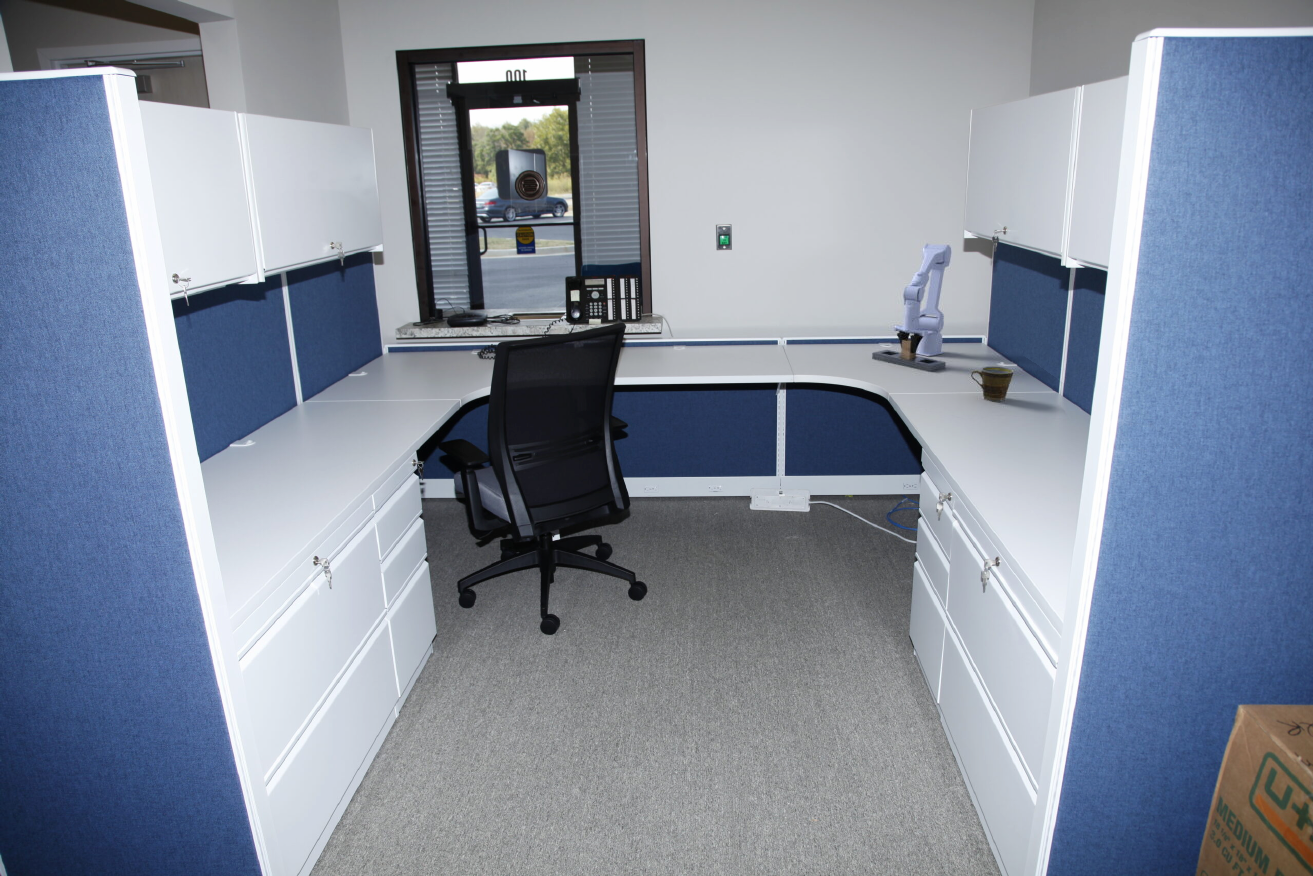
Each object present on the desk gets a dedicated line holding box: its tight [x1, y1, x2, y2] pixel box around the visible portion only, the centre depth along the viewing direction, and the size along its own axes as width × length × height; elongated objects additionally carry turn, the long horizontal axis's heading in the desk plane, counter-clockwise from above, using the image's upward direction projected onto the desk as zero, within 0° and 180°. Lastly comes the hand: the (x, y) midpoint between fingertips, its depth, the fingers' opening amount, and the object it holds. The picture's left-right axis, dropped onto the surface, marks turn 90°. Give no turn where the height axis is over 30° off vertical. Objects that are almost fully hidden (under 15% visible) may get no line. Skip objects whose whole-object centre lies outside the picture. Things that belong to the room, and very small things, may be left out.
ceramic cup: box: [971, 366, 1014, 402], centre depth 282 cm, size 13×10×10 cm
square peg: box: [900, 338, 917, 359], centre depth 331 cm, size 4×4×7 cm
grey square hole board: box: [871, 349, 947, 373], centre depth 332 cm, size 9×28×2 cm, turn 36°
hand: (908, 351), depth 331 cm, fingers closed on square peg, 4 cm apart
